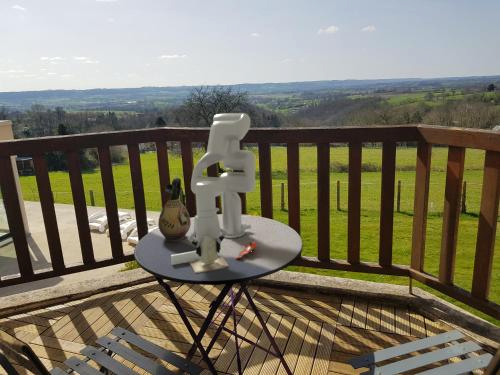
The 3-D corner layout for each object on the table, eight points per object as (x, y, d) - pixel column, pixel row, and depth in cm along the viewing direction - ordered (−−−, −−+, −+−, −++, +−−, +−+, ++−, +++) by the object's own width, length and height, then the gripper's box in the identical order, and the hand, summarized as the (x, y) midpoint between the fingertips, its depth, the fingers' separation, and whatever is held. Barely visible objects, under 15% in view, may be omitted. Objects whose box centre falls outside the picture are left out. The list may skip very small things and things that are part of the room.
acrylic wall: (217, 255, 159) (216, 246, 158) (217, 256, 159) (217, 247, 158) (171, 264, 152) (170, 255, 151) (171, 265, 151) (171, 256, 150)
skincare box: (208, 265, 146) (206, 236, 143) (199, 262, 149) (198, 234, 146) (217, 259, 152) (216, 231, 149) (209, 256, 154) (208, 229, 151)
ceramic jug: (183, 245, 171) (178, 183, 163) (153, 242, 175) (148, 182, 167) (197, 233, 186) (194, 175, 179) (170, 230, 191) (166, 174, 183)
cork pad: (221, 257, 158) (221, 255, 157) (228, 266, 149) (228, 265, 148) (189, 263, 152) (189, 261, 152) (195, 273, 143) (195, 271, 143)
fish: (254, 237, 166) (264, 244, 159) (254, 247, 167) (264, 254, 160) (228, 243, 160) (237, 250, 152) (229, 253, 161) (238, 260, 154)
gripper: (224, 206, 152) (225, 246, 156) (182, 212, 145) (185, 253, 150) (230, 211, 145) (231, 253, 149) (187, 218, 138) (189, 261, 143)
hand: (208, 253), depth 149 cm, fingers closed on skincare box, 7 cm apart
